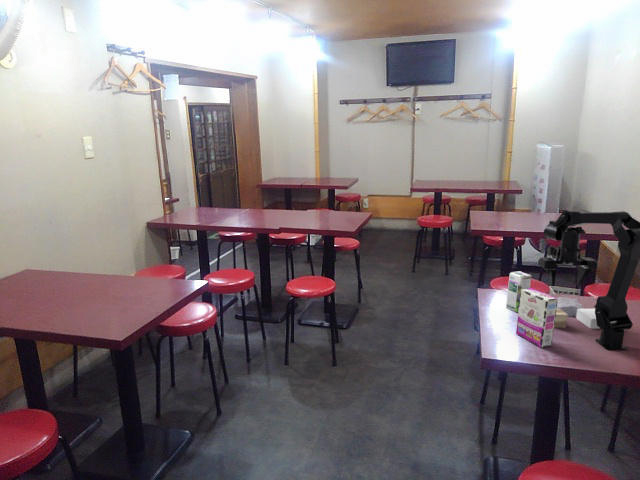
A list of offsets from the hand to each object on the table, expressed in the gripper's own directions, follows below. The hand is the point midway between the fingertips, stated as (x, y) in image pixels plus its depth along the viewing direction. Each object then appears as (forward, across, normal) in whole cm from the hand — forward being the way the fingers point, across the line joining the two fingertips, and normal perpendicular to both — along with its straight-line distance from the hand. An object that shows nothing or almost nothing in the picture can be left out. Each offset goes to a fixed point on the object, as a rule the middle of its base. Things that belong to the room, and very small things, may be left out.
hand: (565, 285), depth 163 cm
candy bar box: (+13, +17, +18) cm, 28 cm away
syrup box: (+13, +13, -8) cm, 20 cm away
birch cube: (+13, +5, +5) cm, 15 cm away
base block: (+13, -10, +4) cm, 17 cm away
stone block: (+13, -5, -8) cm, 16 cm away
